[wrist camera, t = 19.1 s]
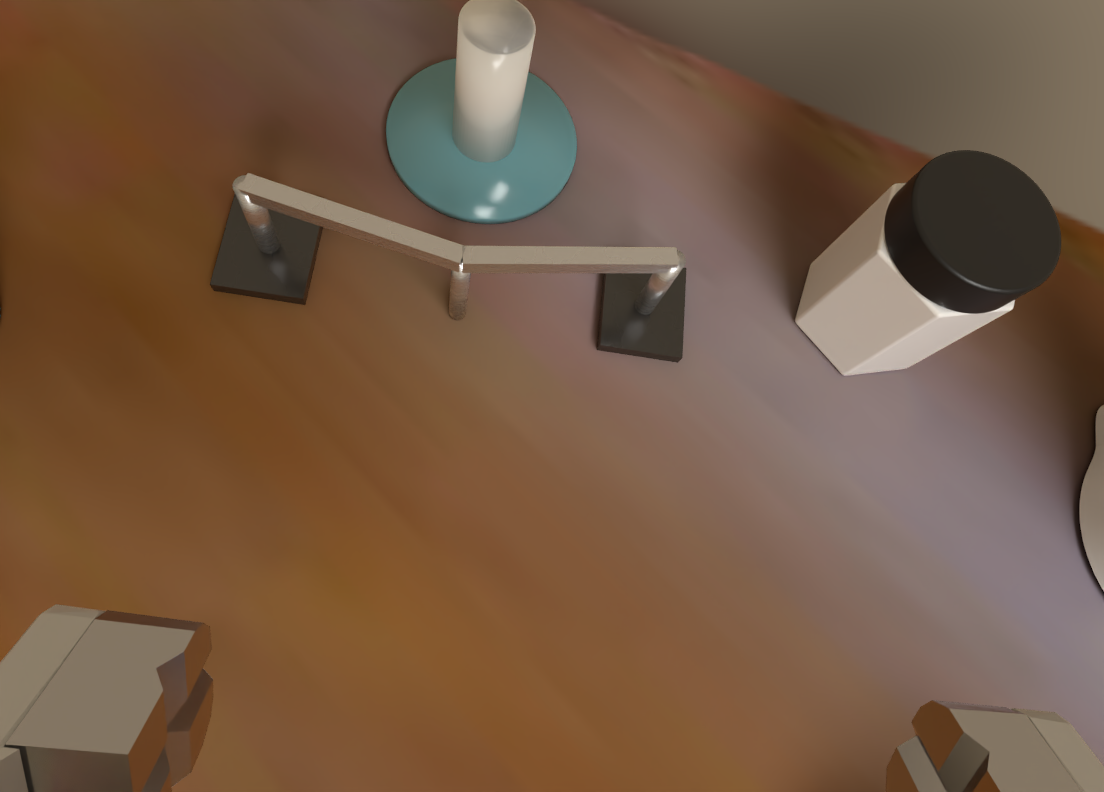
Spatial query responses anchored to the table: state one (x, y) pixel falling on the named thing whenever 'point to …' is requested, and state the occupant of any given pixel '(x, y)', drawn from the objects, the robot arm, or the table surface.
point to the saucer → (472, 185)
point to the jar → (929, 263)
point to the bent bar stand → (445, 264)
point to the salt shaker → (491, 76)
